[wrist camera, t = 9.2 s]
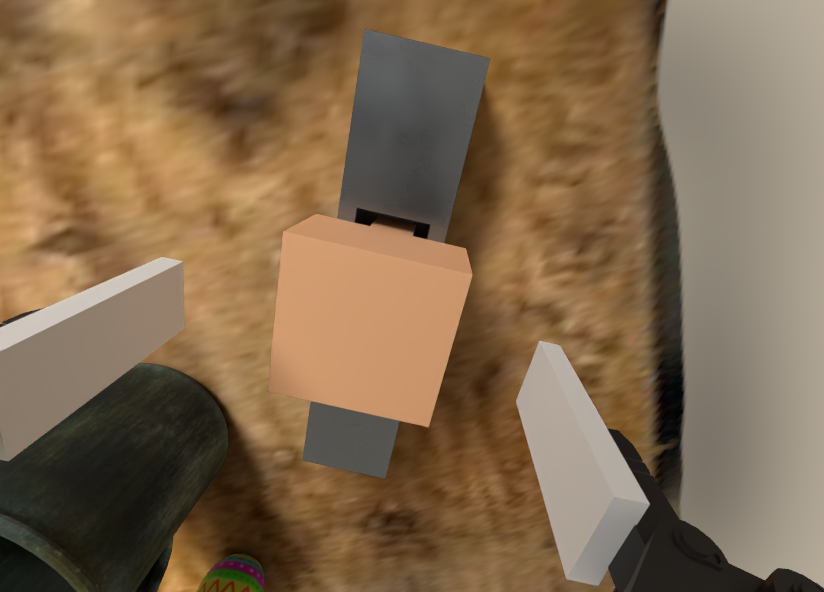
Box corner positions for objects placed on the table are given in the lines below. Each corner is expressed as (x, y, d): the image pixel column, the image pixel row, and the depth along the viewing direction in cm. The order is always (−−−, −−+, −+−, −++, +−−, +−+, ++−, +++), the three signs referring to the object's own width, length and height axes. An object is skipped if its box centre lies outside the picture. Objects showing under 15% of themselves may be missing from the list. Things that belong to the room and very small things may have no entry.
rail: (379, 52, 19) (364, 28, 15) (480, 76, 19) (490, 58, 15) (321, 416, 27) (302, 460, 23) (393, 432, 27) (385, 478, 23)
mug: (214, 346, 25) (36, 503, 14) (266, 513, 30) (165, 725, 19) (63, 356, 26) (-214, 508, 15) (137, 515, 32) (-30, 718, 20)
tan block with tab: (431, 348, 23) (428, 427, 17) (316, 322, 23) (267, 391, 17) (462, 234, 21) (472, 275, 14) (332, 204, 21) (283, 231, 14)
